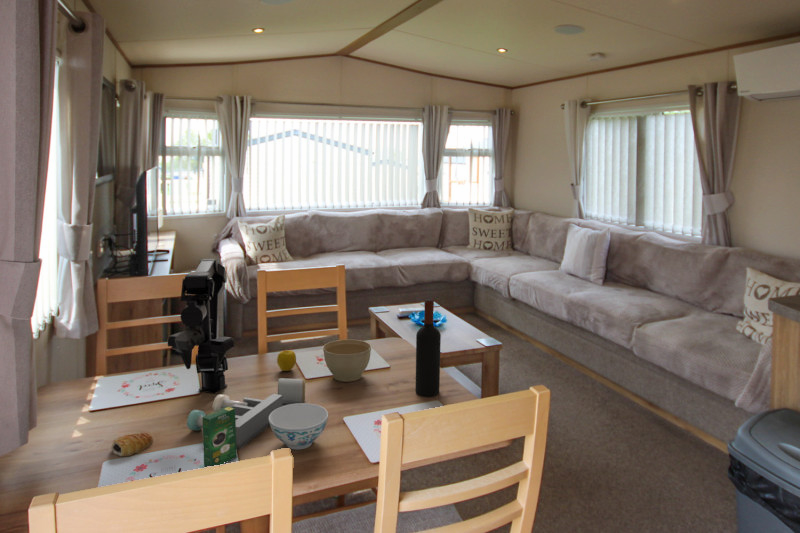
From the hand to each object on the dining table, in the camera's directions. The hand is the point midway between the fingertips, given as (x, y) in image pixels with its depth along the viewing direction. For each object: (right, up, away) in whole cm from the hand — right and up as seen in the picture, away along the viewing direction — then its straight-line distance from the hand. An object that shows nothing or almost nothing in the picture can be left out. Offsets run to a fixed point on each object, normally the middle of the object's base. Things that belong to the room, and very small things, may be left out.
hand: (202, 370), depth 164 cm
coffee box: (+14, -18, -26) cm, 35 cm away
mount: (+15, -14, -9) cm, 22 cm away
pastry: (-11, -16, -20) cm, 28 cm away
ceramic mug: (+24, -11, +9) cm, 28 cm away
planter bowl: (+39, -8, +28) cm, 49 cm away
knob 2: (+9, -12, -1) cm, 15 cm away
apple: (+18, -6, +34) cm, 39 cm away
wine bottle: (+66, -10, +16) cm, 69 cm away
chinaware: (+31, -16, -17) cm, 38 cm away
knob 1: (+5, -14, -11) cm, 19 cm away
